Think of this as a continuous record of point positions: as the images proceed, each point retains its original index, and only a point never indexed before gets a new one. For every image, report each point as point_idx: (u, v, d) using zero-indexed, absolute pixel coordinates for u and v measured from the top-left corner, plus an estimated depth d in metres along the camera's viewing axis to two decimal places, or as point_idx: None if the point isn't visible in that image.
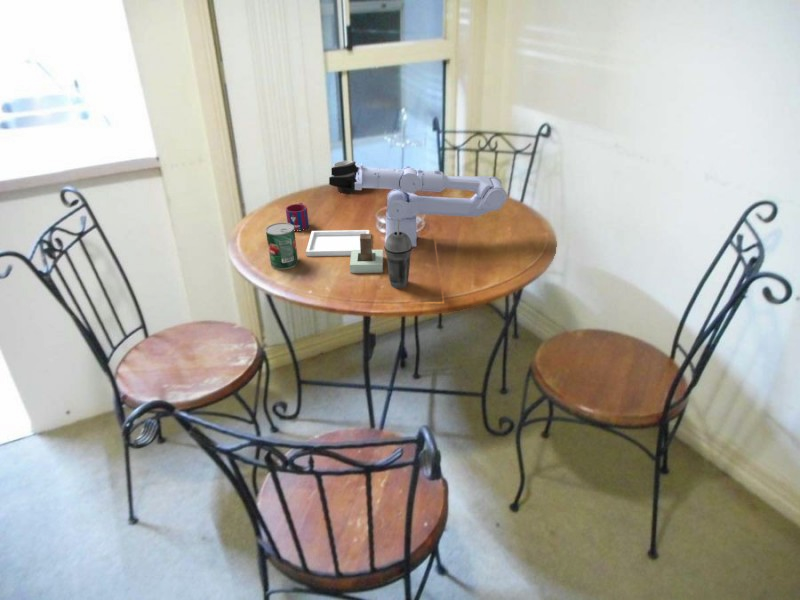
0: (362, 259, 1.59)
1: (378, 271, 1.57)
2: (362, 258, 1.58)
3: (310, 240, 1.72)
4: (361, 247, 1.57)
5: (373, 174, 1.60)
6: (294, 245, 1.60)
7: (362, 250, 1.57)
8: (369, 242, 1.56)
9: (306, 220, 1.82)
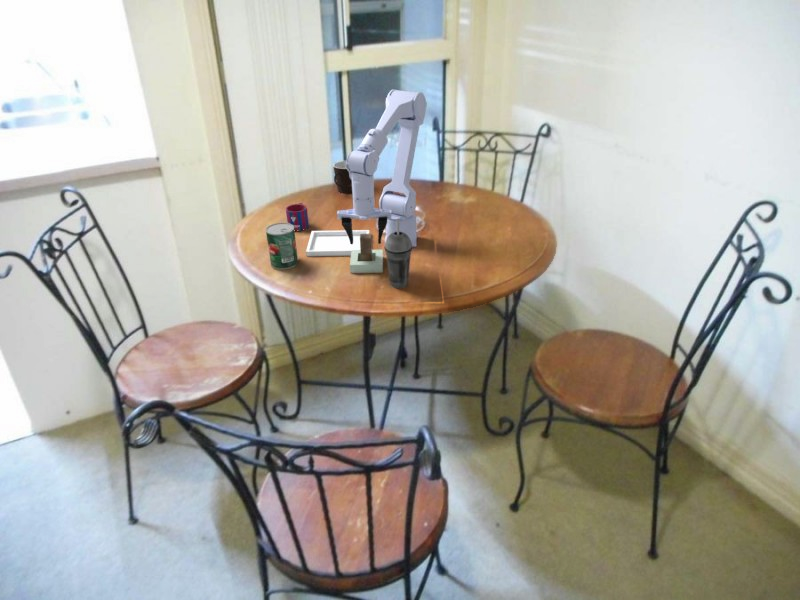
0: (362, 259, 1.59)
1: (378, 271, 1.57)
2: (362, 258, 1.58)
3: (310, 240, 1.72)
4: (361, 247, 1.57)
5: (371, 203, 1.49)
6: (294, 245, 1.60)
7: (362, 250, 1.57)
8: (369, 242, 1.56)
9: (306, 220, 1.82)
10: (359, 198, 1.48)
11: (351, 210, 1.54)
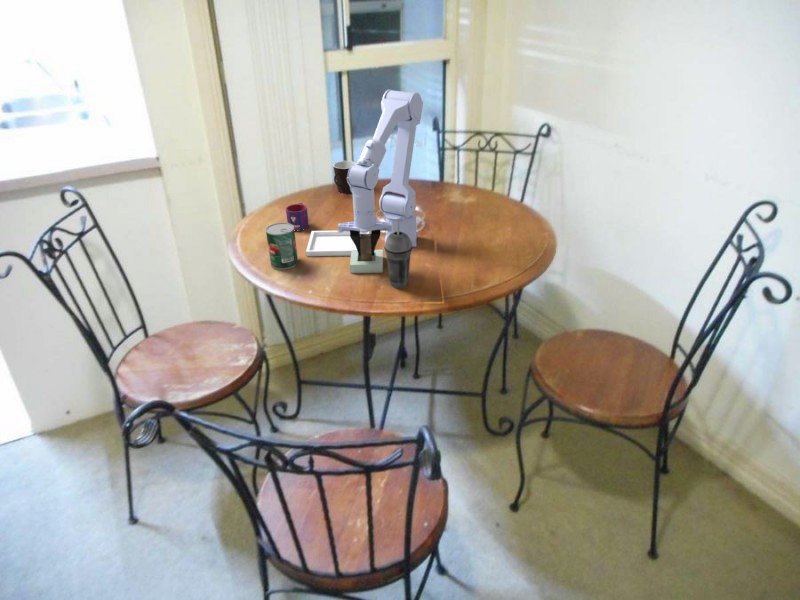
0: (362, 259, 1.59)
1: (378, 271, 1.57)
2: (362, 258, 1.58)
3: (310, 240, 1.72)
4: (361, 247, 1.57)
5: (372, 216, 1.51)
6: (294, 245, 1.60)
7: (362, 250, 1.57)
8: (369, 242, 1.56)
9: (306, 220, 1.82)
10: (360, 211, 1.50)
11: (352, 222, 1.56)
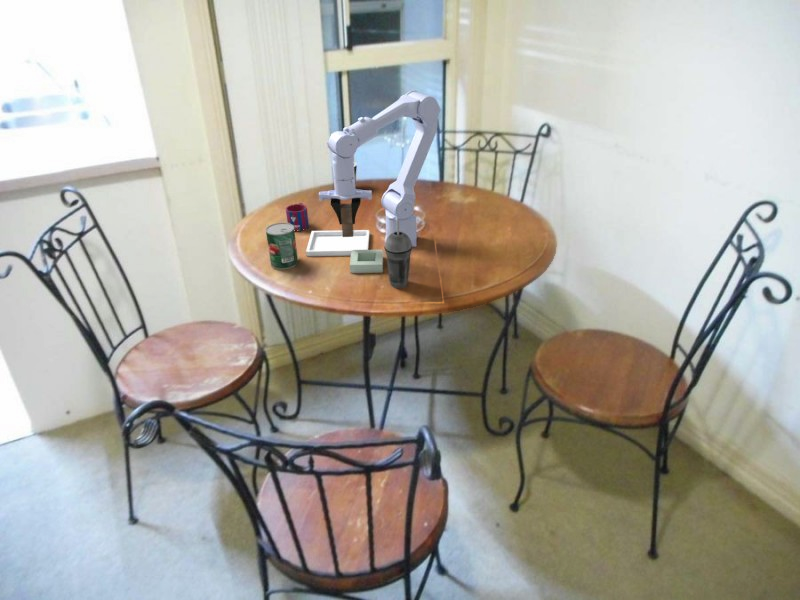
0: (343, 229, 1.61)
1: (378, 271, 1.57)
2: (343, 227, 1.61)
3: (310, 240, 1.72)
4: (342, 216, 1.59)
5: (352, 183, 1.54)
6: (294, 245, 1.60)
7: (343, 219, 1.59)
8: (350, 211, 1.58)
9: (306, 220, 1.82)
10: (335, 178, 1.53)
11: (332, 191, 1.58)
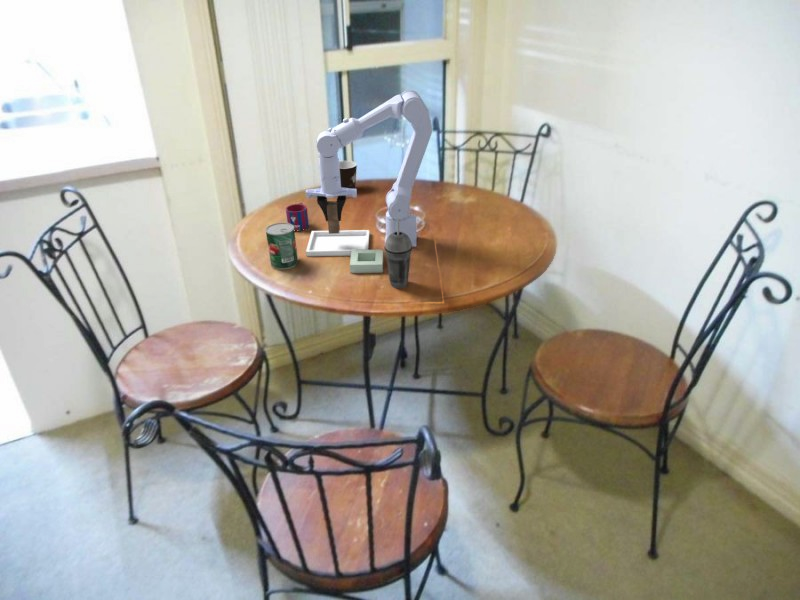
0: (329, 226, 1.67)
1: (378, 271, 1.57)
2: (329, 224, 1.67)
3: (310, 240, 1.72)
4: (328, 213, 1.65)
5: (337, 182, 1.60)
6: (294, 245, 1.60)
7: (329, 216, 1.65)
8: (335, 208, 1.64)
9: (306, 220, 1.82)
10: (320, 175, 1.60)
11: (319, 189, 1.64)
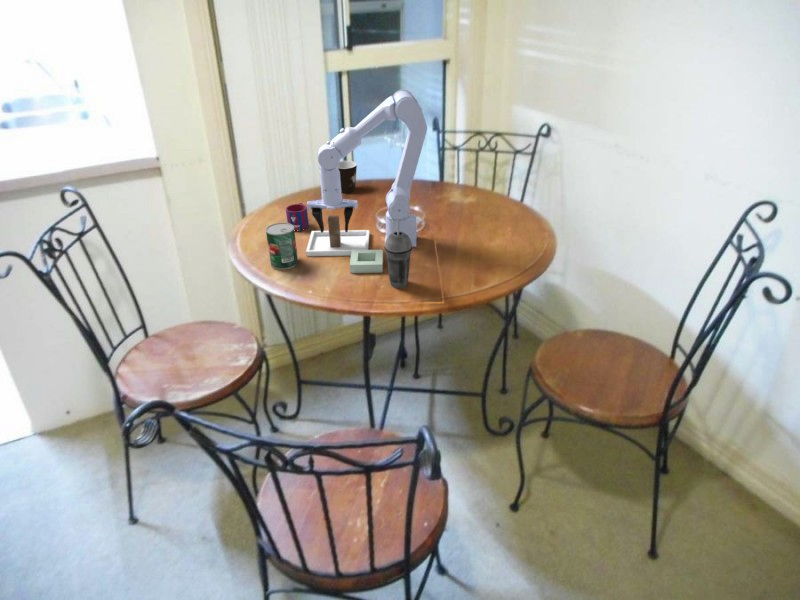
0: (331, 240, 1.69)
1: (378, 271, 1.57)
2: (330, 238, 1.69)
3: (310, 240, 1.72)
4: (329, 228, 1.67)
5: (338, 194, 1.61)
6: (294, 245, 1.60)
7: (330, 231, 1.68)
8: (337, 223, 1.67)
9: (306, 220, 1.82)
10: (321, 187, 1.61)
11: (320, 201, 1.66)
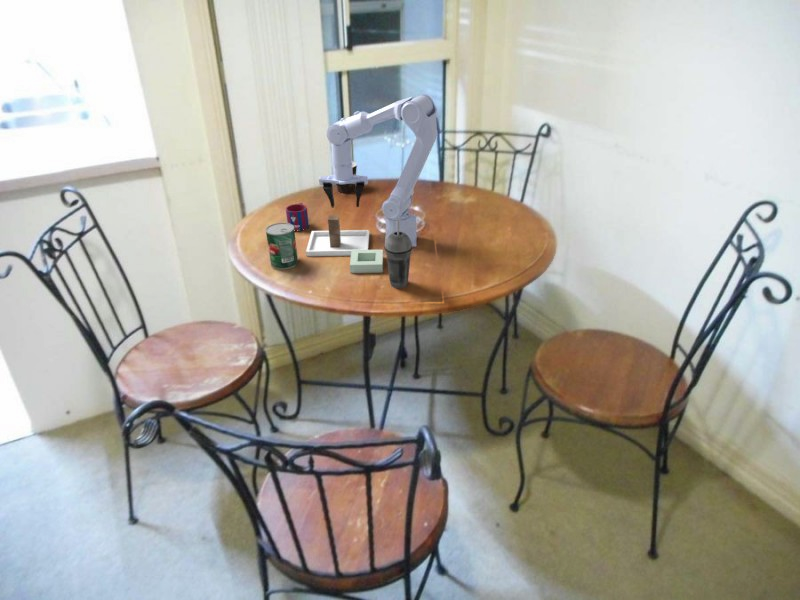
0: (331, 240, 1.69)
1: (378, 271, 1.57)
2: (330, 238, 1.69)
3: (310, 240, 1.72)
4: (329, 228, 1.67)
5: (349, 169, 1.67)
6: (294, 245, 1.60)
7: (330, 231, 1.68)
8: (337, 223, 1.67)
9: (306, 220, 1.82)
10: None
11: (332, 176, 1.71)
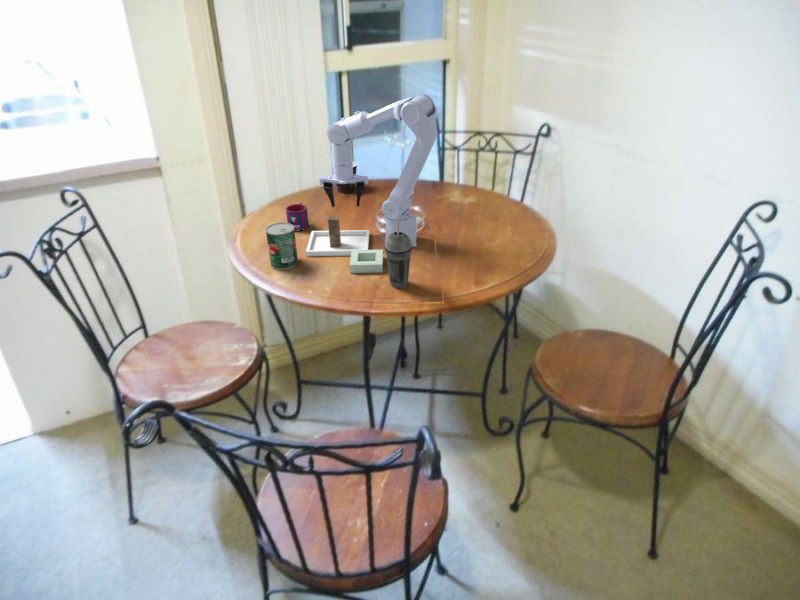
0: (331, 240, 1.69)
1: (378, 271, 1.57)
2: (330, 238, 1.69)
3: (310, 240, 1.72)
4: (329, 228, 1.67)
5: (349, 169, 1.67)
6: (294, 245, 1.60)
7: (330, 231, 1.68)
8: (337, 223, 1.67)
9: (306, 220, 1.82)
10: None
11: (332, 176, 1.72)
